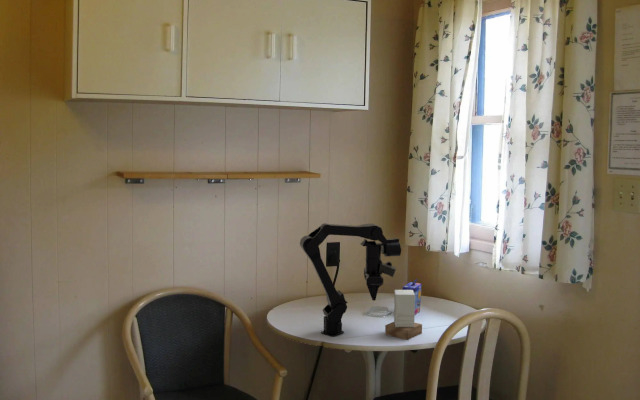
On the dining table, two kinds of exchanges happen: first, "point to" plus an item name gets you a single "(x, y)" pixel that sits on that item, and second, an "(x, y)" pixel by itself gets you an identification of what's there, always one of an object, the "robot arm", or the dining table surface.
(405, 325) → the supplement box
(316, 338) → the dining table surface
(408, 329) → the walnut block
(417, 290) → the ink cartridge box
